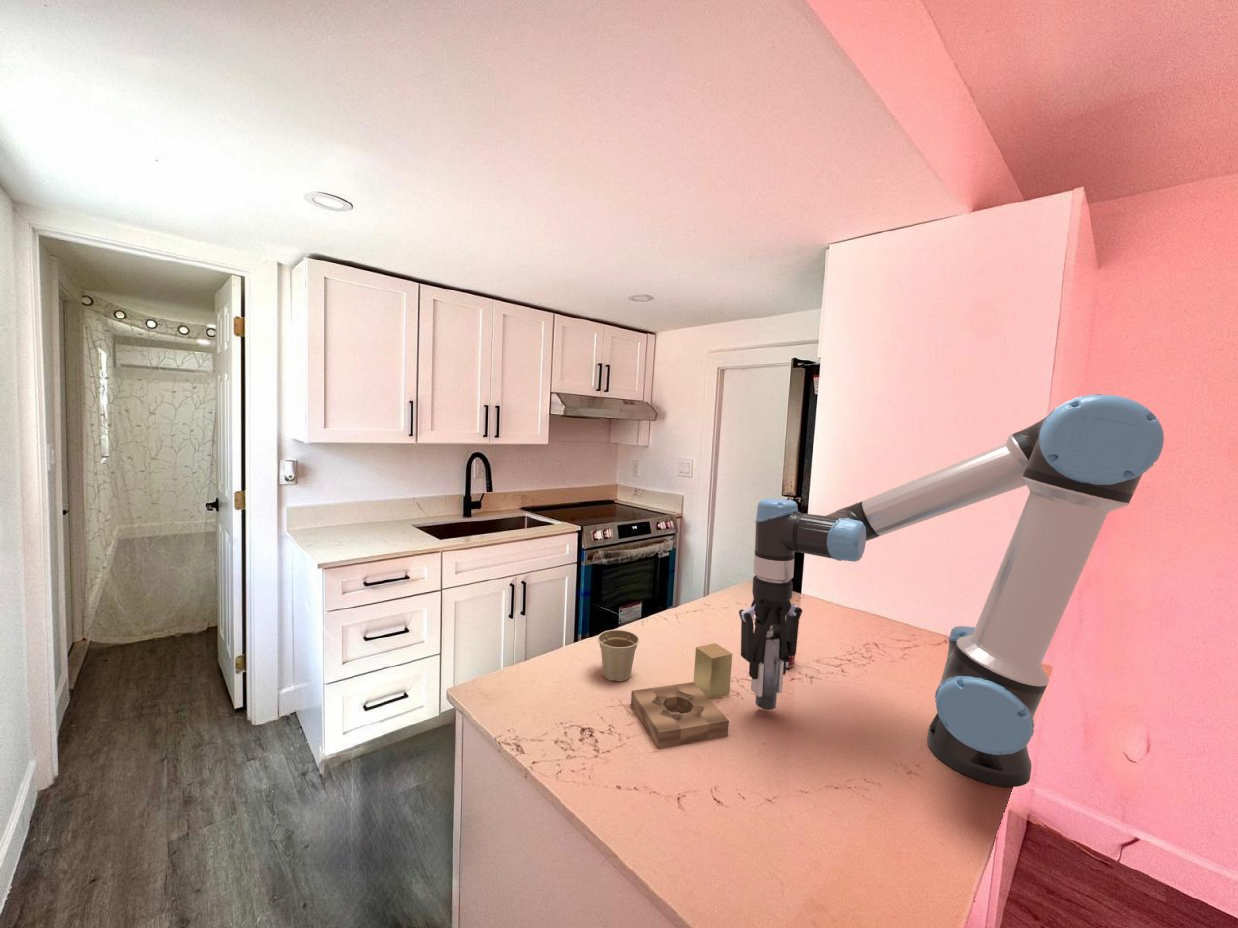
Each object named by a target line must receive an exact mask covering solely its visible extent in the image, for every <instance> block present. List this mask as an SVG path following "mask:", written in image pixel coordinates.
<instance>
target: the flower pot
mask: <svg viewBox="0 0 1238 928" xmlns="http://www.w3.org/2000/svg"><path fill="white" fill-rule="evenodd" d="M597 642H598V643H599V648H600V650H601V651H600V652H601V664H602V674H603V676H604V678H605V679H606V680H608V681H611V682H612V681H617V682H624V681H627V680H629V679H630V678H631V675H632V670H633V664H634V659H635V653H636V650H637V647H638V644H639V643H640V637H639V636H638V635H637V634H636V633H634V632H631V631H629V630H625V629H624V630H623V629H609V630H605V631H603V632H601V633H599V634H598V636H597Z"/></svg>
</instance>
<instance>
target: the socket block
mask: <svg viewBox="0 0 1238 928" xmlns="http://www.w3.org/2000/svg"><path fill="white" fill-rule="evenodd" d="M630 698H631V699H630V706H631V708H632V709H633V711H634V712H635V713H636V715H637V717H638V718H639V720H640V722H641V723H642V724H643V727H644V728H645V730H646V732H648V734H649V736H650V738H651V739H652V741H653V742H654V744H655V746H656V747H657V749H659V750H660V749H663V748H664V749H665V748H670V747H675V746H680V745H686V744H692V743H697V742H703V741H708V740H713V739H719V738H725V737H728V736H729V726H730V725H729V724H730V722H729V721H730V720H729V719H728V717H726V716H725V714H724V713H722V712H721V710H720V709H719V708H718V707H717V706H716V705H715V703H713V701H712V700H711V699H709V698H708V697H707V696H706V695H705V694H704V693H703V692H702V691H701V690H700V689H699V687H698V686H697V685H696V684H695V683H694V681H692V682H686V683H685V682H684V683H677V684H676V683H675V684H670V685H663V686H657V687H655V686H654V687H650V688H649V687H648V688H642V689H640V688H639V689H634V690H631V696H630ZM676 712H678V713H676Z"/></svg>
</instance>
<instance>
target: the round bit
mask: <svg viewBox="0 0 1238 928" xmlns="http://www.w3.org/2000/svg"><path fill="white" fill-rule="evenodd" d="M779 648H780V637H779V636H777V635H776V634H774V633H769V632H767V636H766V640H765V645H764V649H763V653H762V658H761V663H763V664H764V673H763V690H762V697H758V696H757V695H756V694H755V702H754V703H755V706H757V707H758V708H760V709H763V710H768V711H769V710H770V711H771V710H774V709H776V708H777V696H778V693H777V682H778V665H779Z"/></svg>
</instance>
